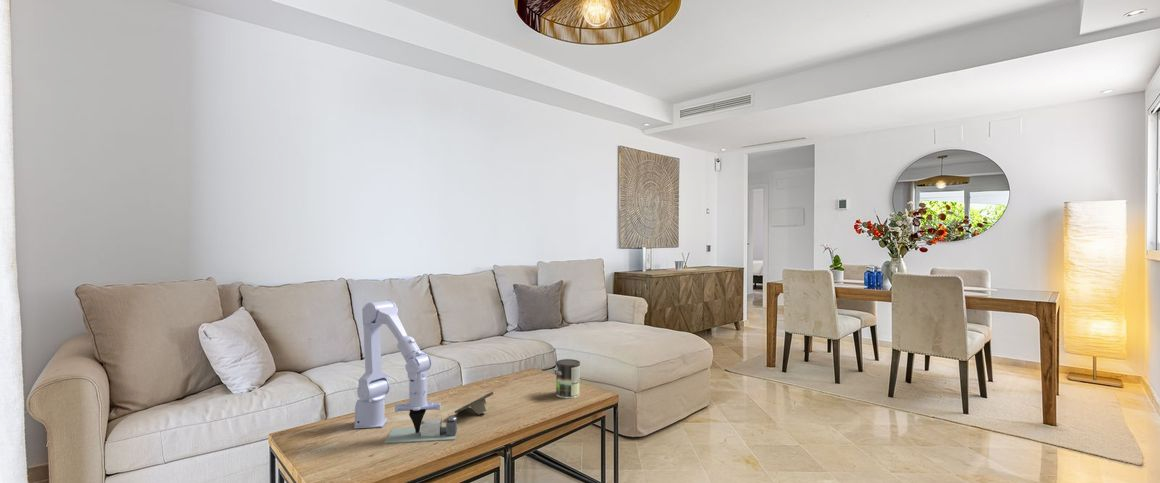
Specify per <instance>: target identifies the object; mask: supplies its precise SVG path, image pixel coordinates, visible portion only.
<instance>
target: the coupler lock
mask: <svg viewBox="0 0 1160 483" xmlns="http://www.w3.org/2000/svg"><path fill="white" fill-rule="evenodd" d="M442 423H443V419H442V417H426V418H425V417H423V419H422V422H421V426H420V427H421V437H440V427H442V426H443V424H442Z"/></svg>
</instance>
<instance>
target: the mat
mask: <svg viewBox="0 0 1160 483" xmlns="http://www.w3.org/2000/svg"><path fill="white" fill-rule="evenodd" d="M442 427H446V425H442ZM458 428H459V424H457V430H458ZM457 432H458V431H457ZM457 432H456V435H455V436H446V434H440V437H421V426H420V431H419V433H416V432H415V427H414V426H413V427H412V426H411V427H410V426H408V427H393V428H392V429H391V431H390V433H389V434H388V436H387V437H386V440H384V444H385V445H388V444H403V443H405V444H406V443H423V442H424V443H425V442H441V441H442V442H443V441H444V442H445V441H455V440H456V437H457V434H458V433H457Z"/></svg>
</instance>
